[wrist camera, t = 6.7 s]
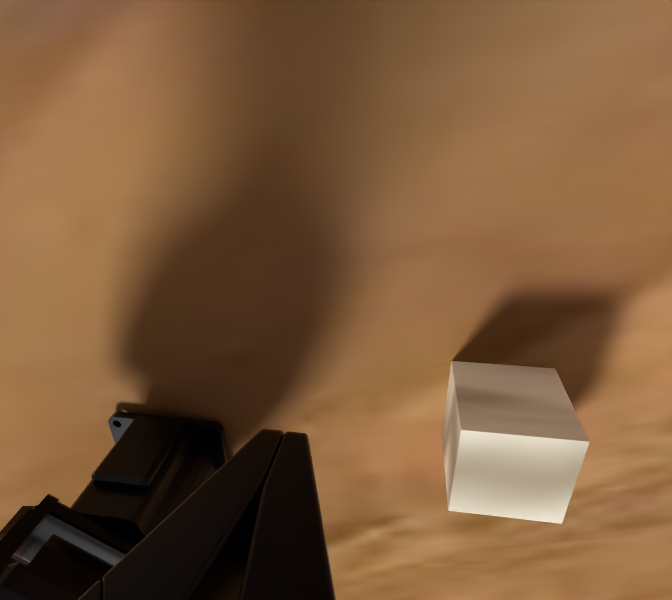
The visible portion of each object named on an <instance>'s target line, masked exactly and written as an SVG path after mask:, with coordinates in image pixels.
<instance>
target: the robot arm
mask: <svg viewBox="0 0 672 600" xmlns="http://www.w3.org/2000/svg"><path fill="white" fill-rule="evenodd" d="M108 421H109V426H110V429H111V432H112V435H113V438H114V441H115V445H114V446H113V448H112V449H111V450H110V452H109V453H108V454H107V455H106V457H105V458H104V459H103V461H102V462H101V463H100V465H99V466H98V467H97V469H96V470H95V471H94V472H93V474H92V476H91V477H92V480H91V481H90V483H89V484H88V485H87V487H86V488H85V489H84V491H83V492H82V493H81V495H80V496H79V497H78V498H77V500H76V501H75V502H74V504H73V505H72V506H71V508H69V507H67V506H66V505H64V504H62V503H60V502H58V501H59V499H58V498H56V497H54V496H52V495H50V494H48V495H47V496H46V497H45V498H44V499H43V500H42V501H41V503H40V504H39V505H36V506H22V507H21V509H20V510H19V511H18V512H17V513H16V514H15V515H14V517H13V518H12V519H11V520H10V521H9V522H8V524H7V525H6V526H5V527H4V528H3V529H2V530H1V532H0V600H336V598H335V593H334V587H333V581H332V575H331V569H330V563H329V557H328V551H327V546H326V540H325V534H324V528H323V522H322V516H321V510H320V504H319V499H318V493H317V487H316V481H315V475H314V469H313V463H312V458H311V452H310V446H309V440H308V436H307V434H305V433H298V432H286V433H285V434H284V432H283V431H279V430H270V429H263V430H261V431H260V432H258V433H257V434H256V435H255V436H254V437H253V438H252V439H251V440H250V441H249V442H248V443H246V444H245V445H244V446H243V447H242V448H241V449H240V450H239V451H238V452H237V453H236V454H235V455H234V456H232V457H231V458H230V459H229V458H228V452H227V446H226V440H225V434H224V429H223V427H222V426H221V424H219V423H217V422H211V421H202V420H192V419H182V418H172V417H162V416H152V415H142V414H133V413H123V412H116V413H114V414H113V415H112V416H111V417H110V419H109V420H108ZM213 431H214V432H213ZM21 558H24V559H26V560H28V561H30V563H29V562H27V561H25V560H23V559H21Z"/></svg>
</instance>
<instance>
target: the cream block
mask: <svg viewBox="0 0 672 600" xmlns="http://www.w3.org/2000/svg"><path fill="white" fill-rule="evenodd" d="M442 441H443V453H444V464H445V476H446V488H447V499H448V510H449V511H457V512H466V513H475V514H483V515H492V516H501V517H509V518H518V519H527V520H535V521H544V522H553V523H561V524H562V522H563V519H564V516H565V513H566V510H567V507H568V504H569V501H570V498H571V495H572V492H573V489H574V486H575V483H576V480H577V477H578V474H579V472H580V469H581V466H582V463H583V460H584V457H585V454H586V451H587V448H588V445H589V439H588V437H587V435H586V433H585V431H584V429H583V427H582V425H581V422H580V420H579V418H578V416H577V414H576V412H575V410H574V408H573V405H572V403H571V401H570V399H569V397H568V395H567V393H566V391H565V388H564V386H563V384H562V382H561V380H560V378H559V376H558V374H557V371H556V369H555V368H542V367H528V366H514V365H500V364H487V363H473V362H459V361H451V369H450V377H449V384H448V392H447V399H446V407H445V414H444V422H443V430H442Z"/></svg>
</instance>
